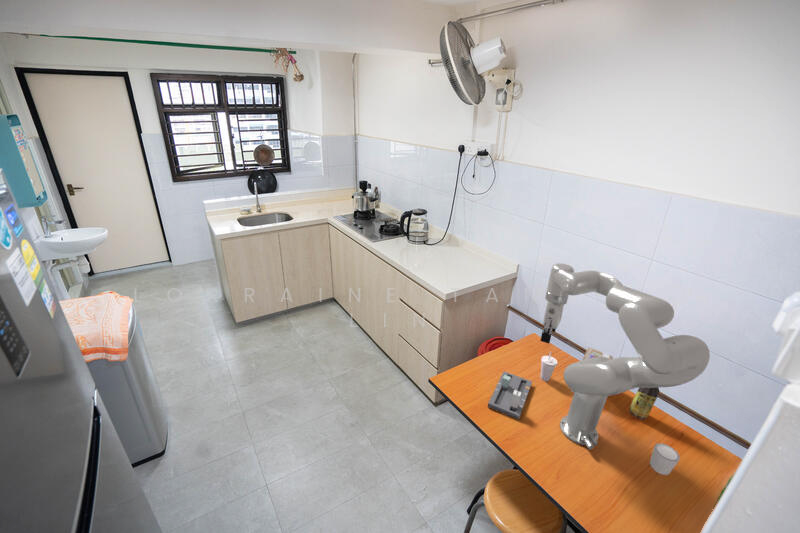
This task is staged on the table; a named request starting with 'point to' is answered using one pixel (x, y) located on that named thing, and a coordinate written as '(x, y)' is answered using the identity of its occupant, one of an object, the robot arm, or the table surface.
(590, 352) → the pale thin bent piece
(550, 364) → the smoothie
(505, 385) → the fader teal
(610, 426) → the table surface
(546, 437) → the table surface
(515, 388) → the console
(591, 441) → the robot arm
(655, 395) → the sauce bottle
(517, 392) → the block
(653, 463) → the white short cylinder
